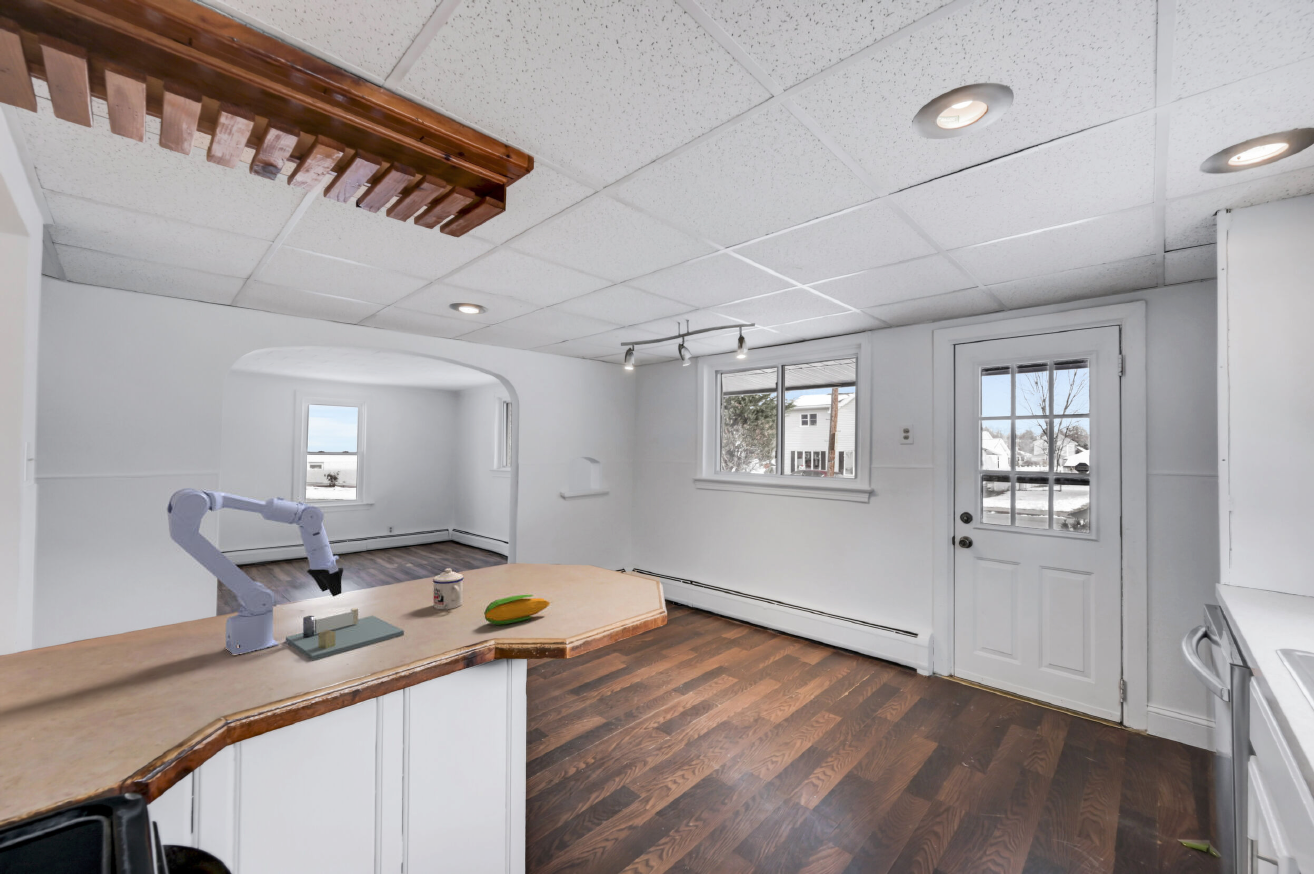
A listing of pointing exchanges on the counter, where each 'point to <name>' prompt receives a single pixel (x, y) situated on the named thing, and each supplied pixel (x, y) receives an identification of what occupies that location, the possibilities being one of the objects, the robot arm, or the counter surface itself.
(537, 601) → the corn
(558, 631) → the counter surface
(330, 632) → the gate posts
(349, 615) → the gate
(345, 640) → the base board
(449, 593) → the teacup with lid
